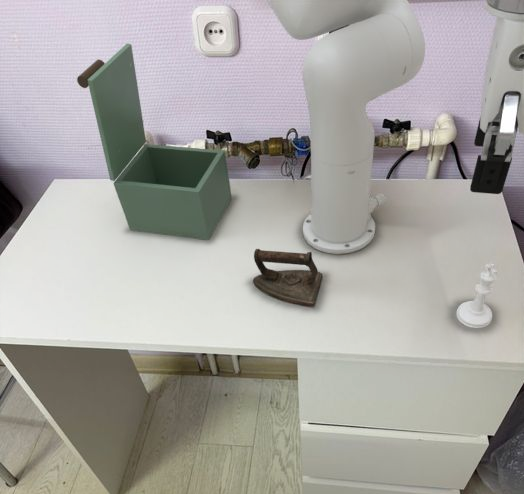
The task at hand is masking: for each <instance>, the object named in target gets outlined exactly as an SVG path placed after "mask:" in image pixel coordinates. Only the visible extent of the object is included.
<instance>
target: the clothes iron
mask: <svg viewBox="0 0 524 494" xmlns="http://www.w3.org/2000/svg"><path fill="white" fill-rule="evenodd" d="M253 260H254V263H255V265H256V267H257V269H258V271H259V272H260V274H258V275H256V276H254V277H253V279H252V283H253V285H254V286H255V287H256V288H257V289H258V290H259V291H261V292H262V293H264V294H266V295H267V296H270V297H272V298H274V299H276V300H279V301H282V302H286V303H289V304H293V305H298V306H301V307H309V308H314V307H315V306H316V303H317V299H318V295H319V292H320V289H321V284H322V281H323V272H321V271H318V267H317V266H316V264H315V261H314V260H313V254H312V251H308V252H306V253H304V252H290V251H289V252H286V251H277V250H265V249H264V250H261V249H260V248H255V250H254V252H253ZM264 263H272V264H284V265H285V264H286V265H297V266H298V265H299V266H306V267H308V270H307V269H306V270H305V269H285V270H274V269H271V268H267V266H266V265H265V264H264Z"/></svg>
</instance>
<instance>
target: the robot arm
mask: <svg viewBox="0 0 524 494" xmlns="http://www.w3.org/2000/svg"><path fill="white" fill-rule="evenodd" d="M267 2H268V4H269V6H270V7H271V9H272V11H273V13H274V14H275V17H277V19H278V21H279V23H280V24H281V26H282V27H283V29H284V30H285V31H286V33H287V34H288V35H289V36H290V37H291V38H293V39H295V40H298V41H304V40H309V39H310V40H311V39H313V38H316V37H320V36H322V35H324V36H323V37H321V38H320V39H318V40H316V42H315V43H314V44H313V45H311V47H310V48H309V50H308V51H307V53H306V55H305V56H304V59H303V63H302V71H301V73H302V83H303V88H304V94H305V98H306V104H307V108H308V116H309V130H310V186H311V187H310V191H311V192H310V194H311V197H310V199H311V200H310V203H311V207H310V208H311V212H310V213H309V215H307V216H306V218H305V219H304V221H303V224H302V234H303V238H304V240H305V241H306V242H307V244H308V245H310V246H311V247H312V248H313V249H316V250H318V251H320V252H324V253H326V254H327V253H328V254H333V255H342V254H343V255H344V254H350V253H354V252H357V251H361V249H363V248H365V247H366V246H367V245H369V244H370V243H371V242H372V240H373V239H374V236H375V234H376V233H375V232H376V223H375V219H373V217H372V216H371V214H372V213H373V212H374V210H375V208H378V207H380V206H381V205H383V204H384V203H385V202H386V197H385V195H384V193H382V192H378V193H376V194H374V195H373V196H372V197H370V193H371V185H372V184H371V183H372V174H373V173H372V172H373V162H374V151H375V137H376V135H375V128H374V124H373V123H372V121H371V119H370V118H369V115H368V114H367V112H366V111H367V110H366V109H367V105H368V103H370V102H372V101H373V100H375V99H377V98H379V97H380V96H383V95H385V94H388V93H389V92H391V91H394V90H395V89H398V88H400V87H403V86H404V85H406V84H408V83H409V82H411V81H412V80H413V79H414V78H416V76H417V75H418V73H419V71H421V69H422V67H423V64H424V61H425V56H426V42H425V37H424V32H423V30H422V27H421V24H420V22H419V20H418V17H417V15H416V13H415V12H414V10H413V8H412V6H411V5H410V2H409V0H267ZM484 7H485V11H486V12H488V14H490V15H492V16H493V17H496V19H495V24H494V29H493V32H492V38H491V41H490V47H489V51H488V56H487V60H486V65H485V71H484V77H483V85H482V91H481V103H480V116H479V120H478V124H477V127H476V133H475V138H474V146H476V147H482V150H481V154H478V155H477V159H476V163H475V166H474V171H473V174H472V179H471V183H470V186H469V187H470V190H469V191H470V192H471V193H477V194H478V193H479V194H489V195H490V194H491V195H501V194H502V192H503V190H504V187H505V184H506V180H507V177H508V174H509V170H510V167H511V165H512V161H513V153H514V148H515V143H516V138H517V133H519V134H524V0H486V1H485V6H484ZM325 34H326V35H325Z"/></svg>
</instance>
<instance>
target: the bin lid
mask: <svg viewBox="0 0 524 494" xmlns="http://www.w3.org/2000/svg"><path fill="white" fill-rule="evenodd" d="M76 82H77V84H78V85H79V87H81V88H82V89H87V88H88V89H89V94H90V99H91V102H92V107H93V110H94V115H95V119H96V123H97V128H98V132H99V137H100V141H101V146H102V150H103V155H104V159H105V163H106V167H107V172H108V176H109V180H110V181H112V182H115V181H116V179H117V178H118V177H119V176H120V175H121V173H122V172H123V171H124V170H125V168H126V167H127V166H128V165H129V163H130V162H131V161H132V160H133V158H134V157H135V156H136V155H137V153H138V152H139V151H140V150H141V148H142V147H143V146H144V145H145V144H147V140H146V133H145V126H144V119H143V113H142V106H141V100H140V99H141V98H140V93H139V86H138V80H137V72H136V66H135V60H134V54H133V46H132V44H131V43H126V44H125V45H124V46H122V48H120V49H119V50H118V51H117V52H116V53H115V54H114V55H113V56H112V57H111V58H109V60H107V61H106V62H104V61H103V60H102V59H96V60H95V61H94V62H93V63H92V64H91V65H89V66H88V67H87V68H86V69H85V70H84V71H83V72H81V74H79V75H78V76H77V78H76Z"/></svg>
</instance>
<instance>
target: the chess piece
mask: <svg viewBox="0 0 524 494" xmlns="http://www.w3.org/2000/svg"><path fill="white" fill-rule="evenodd" d="M495 267H496V264H495V263H493V262H492V263H487V264H485V265H484V269H485V270H484V271H481V273H480V276H479V279H480V282H478V283H477V284H476V285H475V291H476V292H477V294H476V296H475V298H474V299H473V300H468V301H464V302H462V303H461V304H460V305H459V306H458V308H457V310H456V311H455V312H456V313H455V315H456V318H457V320H458V321H459V322H460V323H461V324H462V325H464V326H466V327H468V328H472V329H481V328H482V329H483V328H485V327H487V326H488V325H490V324H491V322H492V320H493V312H492V310H491V308H490V307H489V306H488V305H487V304H486V303H485V300H486V296H487V295H489V294H491V293H492V292H493V287H492V286H491V285H492V284H493V283H494V282H495V281H496V279H497V275H496V274H497V273H498V270H496V269H495Z"/></svg>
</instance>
